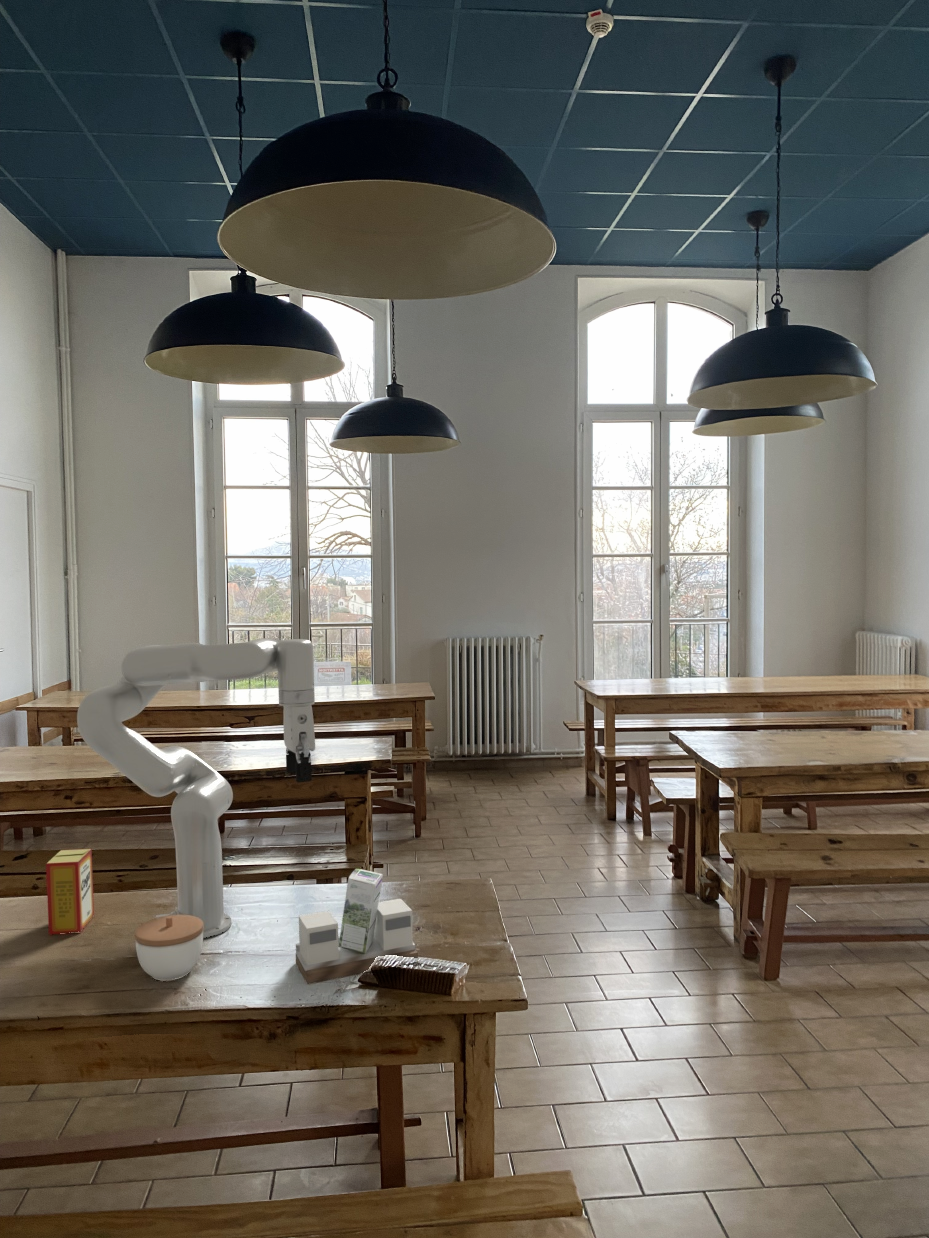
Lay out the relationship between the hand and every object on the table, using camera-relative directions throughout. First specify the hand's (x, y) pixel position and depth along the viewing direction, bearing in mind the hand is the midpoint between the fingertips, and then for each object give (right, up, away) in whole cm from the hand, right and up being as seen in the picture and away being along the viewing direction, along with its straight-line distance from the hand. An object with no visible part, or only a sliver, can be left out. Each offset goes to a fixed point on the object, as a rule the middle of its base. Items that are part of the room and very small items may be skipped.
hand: (298, 776), depth 189 cm
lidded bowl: (-21, -35, -18) cm, 45 cm away
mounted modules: (+14, -31, -16) cm, 37 cm away
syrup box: (+14, -31, -15) cm, 37 cm away
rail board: (+14, -34, -15) cm, 40 cm away
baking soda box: (-51, -34, +6) cm, 62 cm away
